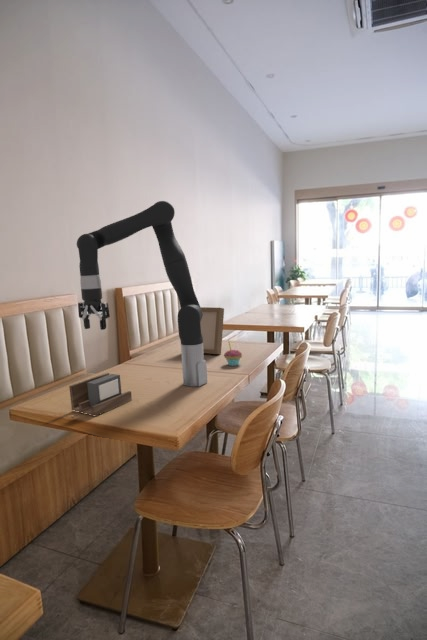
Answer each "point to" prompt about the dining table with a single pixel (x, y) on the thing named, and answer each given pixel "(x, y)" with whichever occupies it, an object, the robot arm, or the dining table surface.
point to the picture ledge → (82, 399)
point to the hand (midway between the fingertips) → (95, 329)
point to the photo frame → (212, 329)
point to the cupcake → (233, 356)
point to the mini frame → (103, 389)
